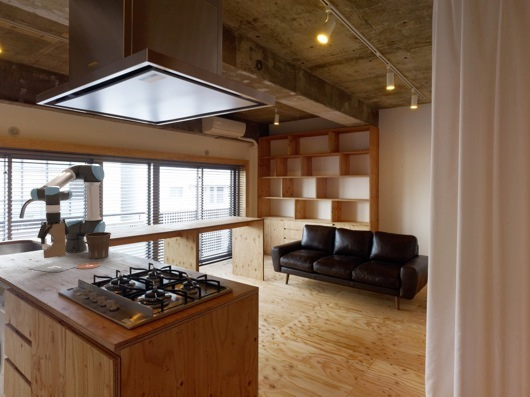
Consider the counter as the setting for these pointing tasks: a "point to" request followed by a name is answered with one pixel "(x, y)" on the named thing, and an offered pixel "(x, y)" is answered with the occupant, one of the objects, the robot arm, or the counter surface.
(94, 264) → the coaster
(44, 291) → the counter surface
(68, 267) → the tile
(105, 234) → the plant pot
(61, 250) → the decorative block
